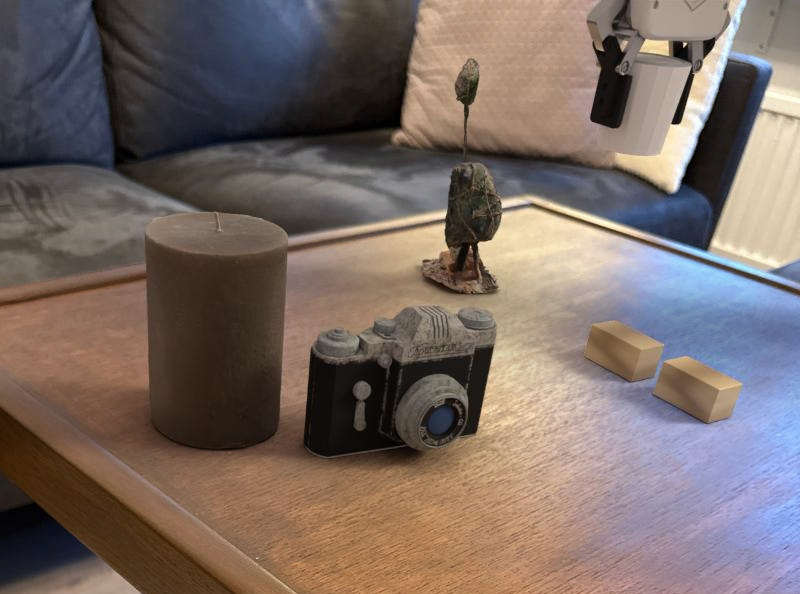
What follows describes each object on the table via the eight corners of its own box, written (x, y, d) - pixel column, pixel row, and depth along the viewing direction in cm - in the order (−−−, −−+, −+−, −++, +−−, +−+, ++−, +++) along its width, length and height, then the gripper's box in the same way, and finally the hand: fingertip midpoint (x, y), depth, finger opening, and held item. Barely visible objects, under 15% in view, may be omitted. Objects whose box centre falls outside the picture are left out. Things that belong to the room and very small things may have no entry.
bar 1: (654, 376, 87) (664, 344, 85) (631, 382, 86) (640, 349, 84) (606, 351, 91) (614, 319, 89) (582, 356, 89) (591, 324, 88)
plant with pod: (421, 298, 98) (454, 70, 85) (419, 261, 106) (449, 49, 94) (502, 307, 98) (547, 79, 85) (493, 269, 106) (533, 58, 94)
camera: (334, 482, 68) (348, 343, 62) (294, 437, 73) (304, 304, 66) (510, 452, 74) (540, 322, 67) (463, 412, 78) (487, 287, 72)
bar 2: (730, 417, 82) (743, 383, 80) (707, 423, 80) (719, 389, 78) (676, 388, 85) (686, 355, 84) (652, 394, 84) (662, 360, 82)
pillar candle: (253, 461, 69) (262, 243, 60) (127, 433, 71) (116, 217, 62) (296, 406, 77) (310, 204, 67) (180, 381, 78) (178, 181, 69)
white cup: (638, 161, 83) (662, 67, 79) (574, 142, 87) (594, 51, 83) (683, 153, 87) (708, 63, 83) (619, 135, 91) (640, 48, 86)
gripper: (659, -142, 68) (593, 138, 80) (813, -124, 76) (734, 129, 87) (584, -149, 73) (532, 117, 84) (736, -131, 81) (670, 110, 92)
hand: (635, 121), depth 86 cm, fingers closed on white cup, 6 cm apart
